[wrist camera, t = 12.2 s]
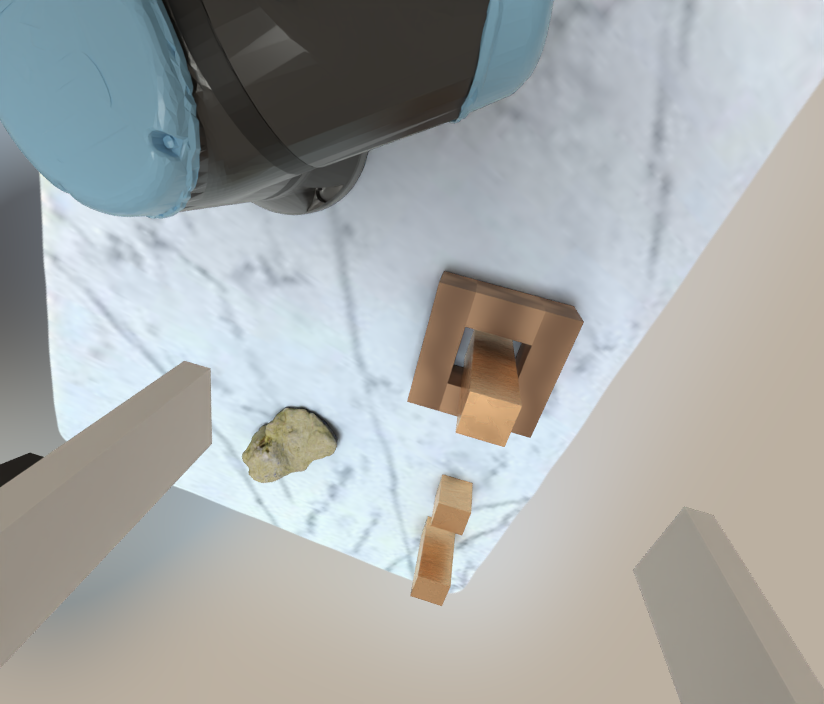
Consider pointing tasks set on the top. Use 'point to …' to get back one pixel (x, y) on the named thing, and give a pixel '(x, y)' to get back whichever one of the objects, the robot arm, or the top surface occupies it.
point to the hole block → (503, 316)
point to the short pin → (452, 505)
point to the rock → (288, 445)
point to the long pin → (489, 389)
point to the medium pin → (433, 564)
